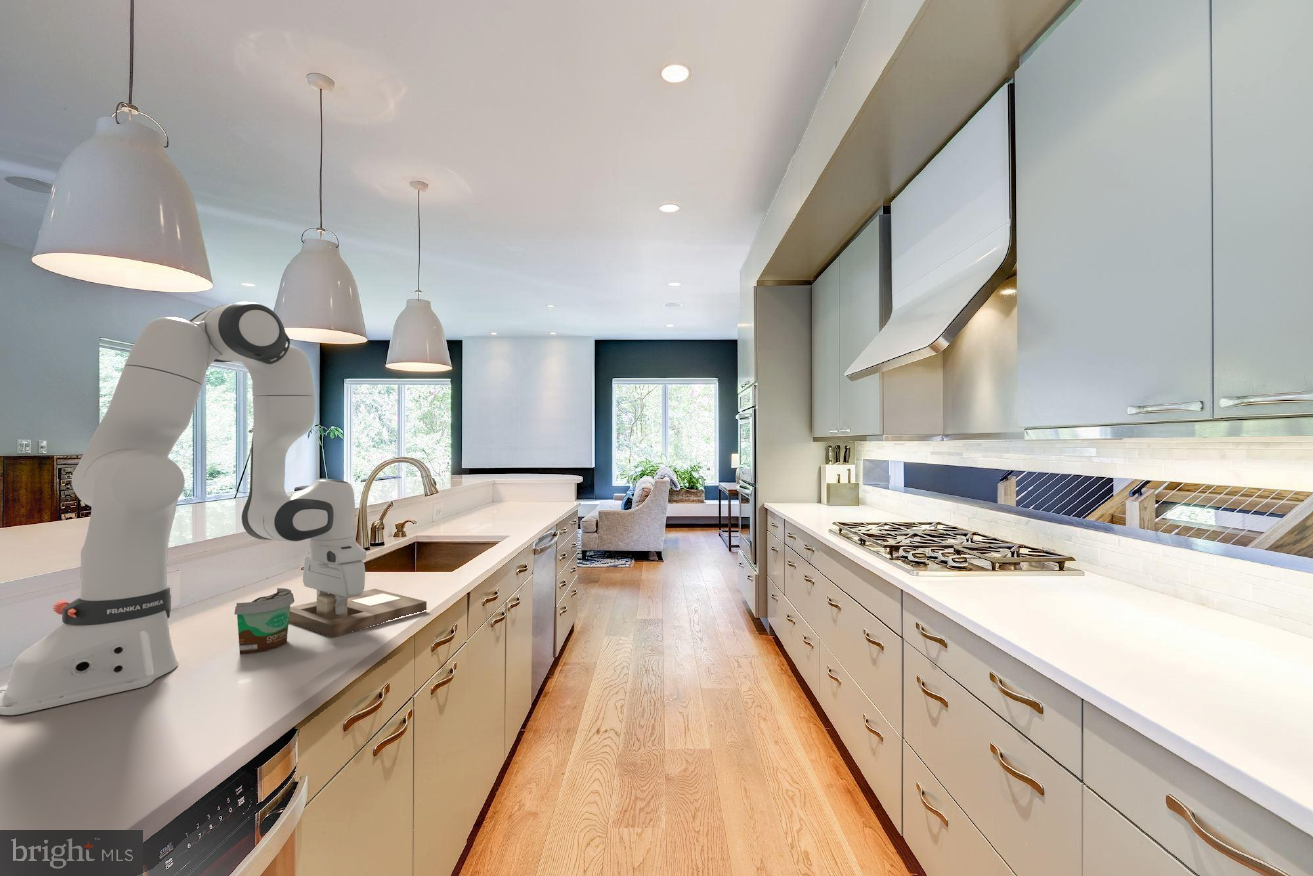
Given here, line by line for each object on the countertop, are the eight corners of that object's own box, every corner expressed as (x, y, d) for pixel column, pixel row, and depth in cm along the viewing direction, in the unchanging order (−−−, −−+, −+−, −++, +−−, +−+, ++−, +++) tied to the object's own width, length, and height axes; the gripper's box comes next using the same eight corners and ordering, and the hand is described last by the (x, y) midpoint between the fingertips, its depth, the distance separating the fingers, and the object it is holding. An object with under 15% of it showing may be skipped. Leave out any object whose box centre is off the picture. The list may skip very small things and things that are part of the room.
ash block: (326, 626, 125) (327, 598, 125) (316, 622, 128) (316, 595, 128) (347, 620, 129) (347, 594, 129) (336, 617, 131) (337, 591, 131)
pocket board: (332, 637, 118) (332, 624, 118) (282, 619, 130) (282, 607, 130) (426, 611, 136) (426, 600, 136) (375, 598, 148) (375, 588, 148)
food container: (265, 657, 107) (266, 603, 107) (233, 657, 107) (234, 603, 107) (307, 635, 119) (308, 587, 119) (278, 635, 119) (279, 587, 119)
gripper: (295, 547, 132) (294, 607, 131) (342, 557, 120) (341, 622, 120) (323, 543, 137) (323, 601, 137) (370, 552, 126) (370, 615, 125)
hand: (331, 611), depth 128 cm, fingers closed on ash block, 4 cm apart
